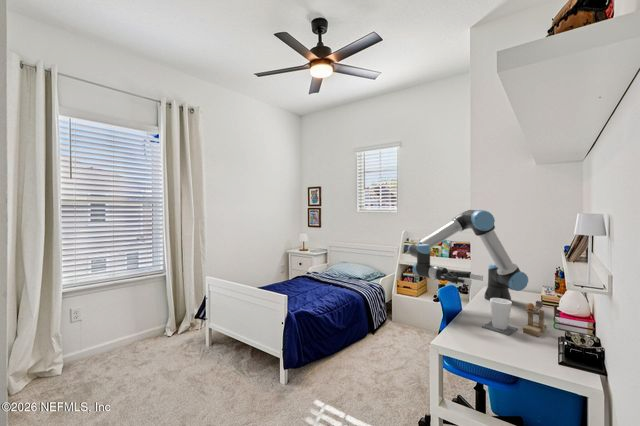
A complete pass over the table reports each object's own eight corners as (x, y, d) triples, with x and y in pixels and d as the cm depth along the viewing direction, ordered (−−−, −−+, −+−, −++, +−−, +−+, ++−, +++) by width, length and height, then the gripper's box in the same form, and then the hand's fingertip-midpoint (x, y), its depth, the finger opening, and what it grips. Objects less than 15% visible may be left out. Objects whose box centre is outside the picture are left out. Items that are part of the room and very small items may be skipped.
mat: (491, 321, 161) (491, 320, 161) (517, 329, 152) (517, 327, 152) (482, 327, 153) (482, 325, 153) (508, 335, 144) (508, 334, 144)
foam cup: (514, 331, 147) (515, 304, 147) (493, 329, 149) (494, 302, 149) (506, 324, 157) (507, 298, 156) (486, 322, 158) (487, 297, 158)
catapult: (532, 325, 157) (533, 296, 156) (546, 329, 152) (547, 298, 152) (520, 334, 146) (522, 302, 146) (535, 338, 141) (537, 305, 141)
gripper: (449, 276, 185) (487, 283, 168) (426, 283, 169) (466, 291, 152) (449, 264, 185) (487, 269, 168) (427, 269, 168) (466, 276, 152)
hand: (477, 280), depth 160 cm, fingers open, 13 cm apart
